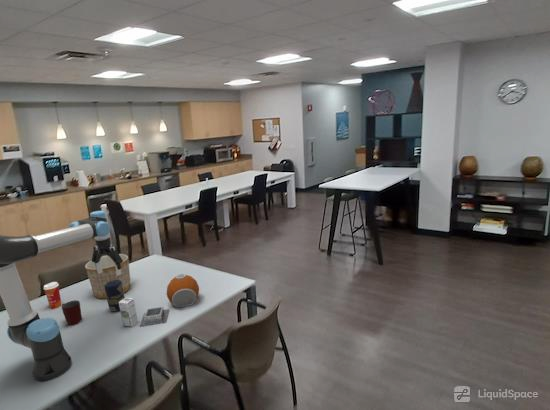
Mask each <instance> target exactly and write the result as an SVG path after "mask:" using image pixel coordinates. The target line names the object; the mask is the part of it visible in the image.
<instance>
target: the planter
mask: <svg viewBox="0 0 550 410" xmlns="http://www.w3.org/2000/svg"><path fill="white" fill-rule="evenodd" d="M119 255H120V257H121V258H122V260H123V262H122V263H120V265H121V274H120V275H118V276H117V274H116V269H115V262H114V261H113V260H112V259H111V258H110V257H109V256H107V255H102V257H101V259H100V261H99V262H101V266H102V271H103V272H102V273H100V274H98V272H97V268H96V265H95V263H94V262H92V259H91V260H89V261H88V262H87V263H86V264H85V266H84V268H85V271H86V274H87V277H88V280H89V283H90V287H91V289H92V292H93V295H94V296H95V297H96V298H99V299H107V296H106V291H105V287H104V286H105V284H106V283H108V282H110V281H113V280H120V281H121V282H122V287H123V291H124V294H125V293H126V292H127V291H128V290H130V288H131V272H130V263H129V256H128V255H127V254H124V253H119Z"/></svg>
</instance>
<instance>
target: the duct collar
mask: <svg viewBox="0 0 550 410" xmlns="http://www.w3.org/2000/svg"><path fill="white" fill-rule="evenodd" d="M169 314H170V309H169V308H167V309H164V306H160V307H159V306H158V307H151V308H146V311H145V312H144V314H143V316H142V319H141V321H140V324H139V328H141V327H148V326H149V327H150V326H154V325H160V324H161V323H162V324H167V321H168V317H169Z"/></svg>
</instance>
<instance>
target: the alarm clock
mask: <svg viewBox="0 0 550 410" xmlns="http://www.w3.org/2000/svg"><path fill="white" fill-rule="evenodd" d="M199 292H200V286H199V284H198V282H197V280H196V279H195V278H194V277H193V276H190V275H187V274H184V273H180V274H177V275H176V276H175V277H173V278H172V279H171V280H170V282H169V283H168V285H167V286H166V297H167V299H168V301H169V303H171V304H172V305H174V307H177V308H182V307H186V306H190V305H193V304H195V302H196V300H197V299H198V297H199V294H200V293H199Z"/></svg>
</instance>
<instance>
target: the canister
mask: <svg viewBox="0 0 550 410" xmlns="http://www.w3.org/2000/svg"><path fill="white" fill-rule="evenodd" d="M104 287H105V291H106V296H107V298H106V300H107V306H108V309H109V310H110V312H119V311H120V307H119V302H120V301H121V300H122V299H124V298H126V297H125V293H124V291H123V287H122V282H121V281H120V280H113V281H110V282H108V283H106V284H105V286H104Z"/></svg>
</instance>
